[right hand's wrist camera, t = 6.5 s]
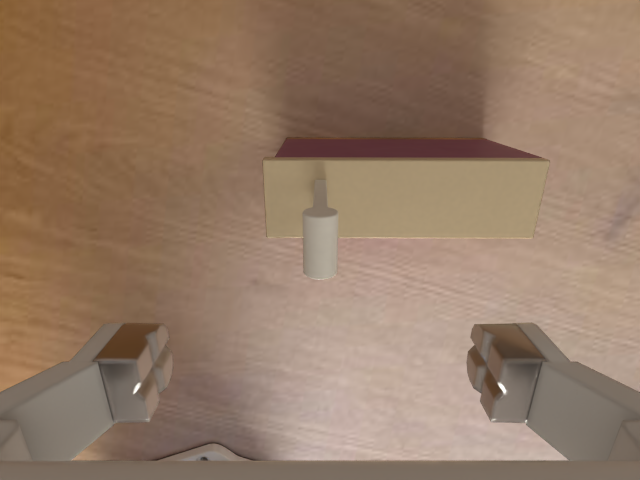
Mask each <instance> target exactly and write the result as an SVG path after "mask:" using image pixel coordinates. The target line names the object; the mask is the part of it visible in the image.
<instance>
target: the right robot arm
mask: <svg viewBox="0 0 640 480" xmlns="http://www.w3.org/2000/svg"><path fill="white" fill-rule="evenodd" d="M169 338H170V337H169V333H168V328H167V326H166V325H165V324H151V323H107V324H104V325H103V326H102V327H101V328H100V329H99V330H98V331H97V332H96V333H95V334H94V335H93V336H92V338H91V339H90V340H89V341H88V342H87V343H86V344H85V345H84V346H83V347H82V348H81V350H80V351H79V352H78V353H77V354H76V355H75V356H74V357H73V358H72V359H71V360H70V361H69V362H61V363H59V364H57V365H55V366H53V367H51V368H49V369H47V370H45V371H43V372H41V373H39V374H37V375H35V376H33V377H31V378H29V379H26V380H24V381H22V382H20V383H18V384H16V385H14V386H12V387H10V388H8V389H6V390H4V391H2V392H0V480H640V392H638V391H636V390H634V389H632V388H630V387H628V386H626V385H624V384H622V383H620V382H618V381H615V380H613V379H611V378H609V377H607V376H605V375H603V374H601V373H599V372H597V371H595V370H593V369H591V368H589V367H587V366H585V365H583V364H581V363H579V362H570V360H569V359H568V358H567V357H566V356H565V355H564V354H563V353H562V352H561V351H560V350H559V348H558V347H557V346H556V345H555V344H554V343H553V342H552V341H551V340H550V339H549V338H548V336H547V335H546V334H545V333H544V332H543V331H542V330H541V329H540V328H539V327H538V326H537V325H536V324H534V323H513V324H474V326H473V328H472V332H471V337H470V338H471V339H472V341H473V343H474V344H475V345H474V346H473V347H472V348H471V349H470V350H469V351H468V356H467V372H468V376H469V380H470V382H471V384H472V386H473V388H474V389H476V390H477V391H478V392H480V393H481V399H480V402H481V404H482V406H483V408H484V410H485V412H486V414H487V415H488V417H489V419H490V421H491V422H505V423H526V425H527V426H528V427H529V428H531V429H532V430H533V431H534V432H536V433H537V434H538V435H539V436H540V437H542V438H543V439H544V440H545V441H546V442H548V443H549V444H550V445H551V446H552V447H554V448H555V449H556V450H557V451H558V452H560V453H561V454H562V455H563V456H565V457H566V458H567V459H568V460H569V461H253V460H249V459H246V458H243V457H240V456H237V455H235V454H234V453H233V452H231V451H230V450H228V449H227V448H225V447H223V446H221V445H219V444H215V443H212V444H207V445H204V446H201V447H198V448H195V449H192V450H188V451H185V452H182V453H179V454H176V455H173V456H170V457H167V458H163V459H160V460H157V461H71V460H72V459H73V458H74V457H76V456H77V455H78V454H79V453H80V452H82V451H83V450H84V449H85V448H86V447H88V446H89V445H90V444H91V443H93V442H94V441H95V440H96V439H97V438H99V437H100V436H101V435H102V434H103V433H105V432H106V431H107V430H108V429H110V428H111V427H112V426H113V425H114V423H134V422H149V421H150V419H151V417H152V416H153V414H154V412H155V410H156V408H157V406H158V404H159V402H160V399H159V393H160V392H162V391H163V390H164V389H166V388H167V386H168V384H169V382H170V380H171V376H172V371H173V355H172V351H171V350H170V349H169V348H168V347H167V346H166V345H165V344H166V343H167V341H168V339H169Z"/></svg>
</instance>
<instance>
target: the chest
mask: <svg viewBox="0 0 640 480" xmlns="http://www.w3.org/2000/svg"><path fill="white" fill-rule="evenodd" d="M275 157H371V158H542V157H539V156H536V155H533V154H530V153H526V152H523V151H520V150H517V149H514V148H511V147H508V146H505V145H502V144H499V143H496V142H493V141H490V140H487V139H484V138H286V141H285V142H284V144H283V145H282V147H281V148H280V150H279V151H278V153H277V155H276V156H275Z"/></svg>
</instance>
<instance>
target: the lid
mask: <svg viewBox="0 0 640 480" xmlns="http://www.w3.org/2000/svg"><path fill="white" fill-rule="evenodd" d="M262 163H263V182H264V201H265V219H266V237H267V238H303V272H304V274H305V275H306V276H307V277H309V278H312V279H319V280H322V279H329V278H332V277H334V276H335V275H336V274H337V261H338V238H533V236H534V232H535V227H536V223H537V218H538V214H539V209H540V205H541V200H542V195H543V191H544V186H545V182H546V177H547V173H548V168H549V164H550V160H547V159H544V158H371V157H265V158H264V159H263V161H262Z"/></svg>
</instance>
